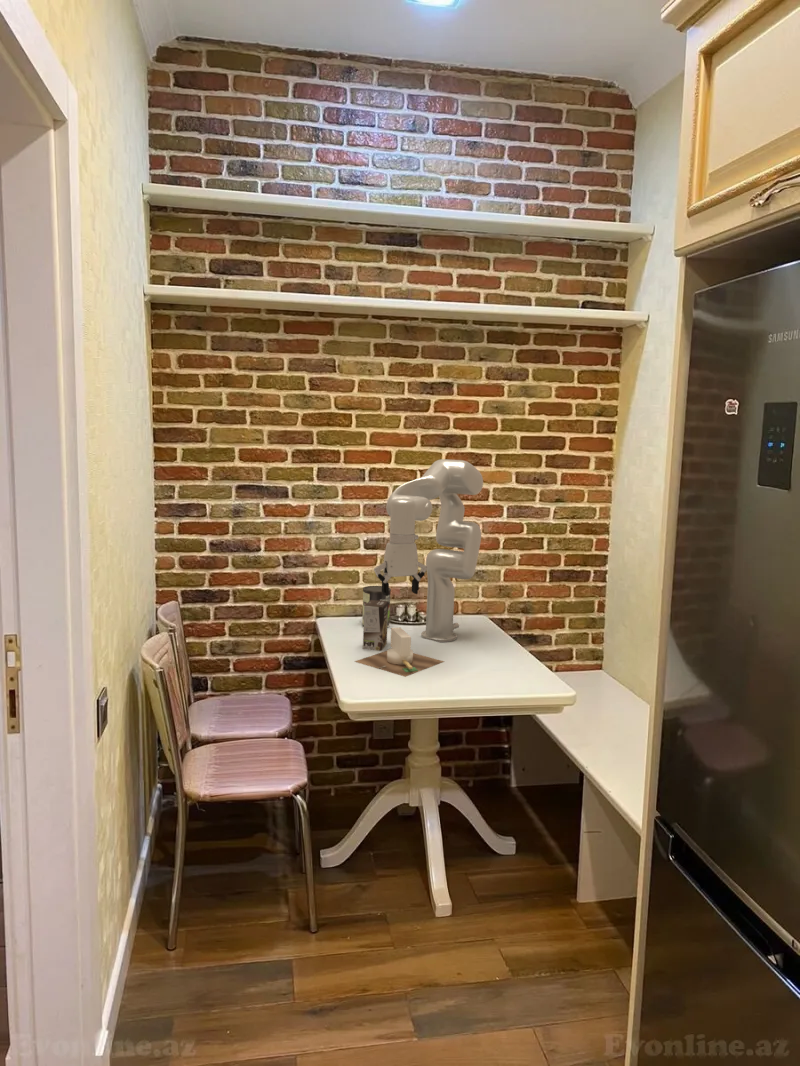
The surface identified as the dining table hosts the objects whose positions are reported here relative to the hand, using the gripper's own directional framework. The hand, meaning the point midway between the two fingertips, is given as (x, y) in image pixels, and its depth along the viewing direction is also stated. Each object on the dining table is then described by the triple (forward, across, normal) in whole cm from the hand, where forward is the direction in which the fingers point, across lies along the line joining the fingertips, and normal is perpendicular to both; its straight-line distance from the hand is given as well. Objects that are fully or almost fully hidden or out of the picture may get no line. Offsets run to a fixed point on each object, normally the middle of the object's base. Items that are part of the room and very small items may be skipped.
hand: (400, 593), depth 233 cm
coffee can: (+23, -9, -45) cm, 51 cm away
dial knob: (+21, 0, +5) cm, 21 cm away
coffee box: (+23, +2, -15) cm, 28 cm away
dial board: (+22, 0, +2) cm, 23 cm away
